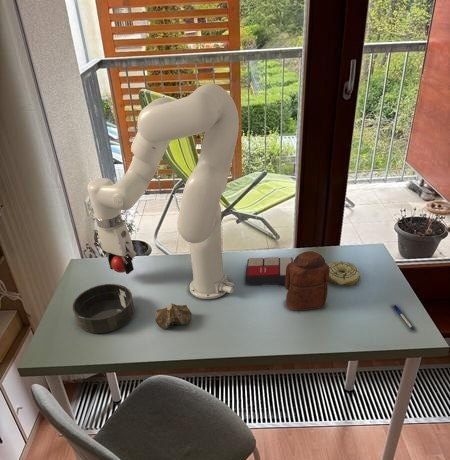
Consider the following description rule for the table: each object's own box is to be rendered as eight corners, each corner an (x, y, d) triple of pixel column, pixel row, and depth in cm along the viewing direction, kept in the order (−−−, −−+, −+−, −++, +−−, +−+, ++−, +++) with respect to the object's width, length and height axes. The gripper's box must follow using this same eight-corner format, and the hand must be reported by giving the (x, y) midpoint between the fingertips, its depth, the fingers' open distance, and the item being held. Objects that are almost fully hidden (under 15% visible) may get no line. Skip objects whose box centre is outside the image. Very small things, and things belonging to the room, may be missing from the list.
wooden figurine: (320, 295, 132) (325, 245, 122) (327, 308, 127) (333, 257, 117) (282, 300, 131) (284, 249, 121) (287, 313, 126) (290, 261, 116)
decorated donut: (342, 292, 133) (343, 282, 131) (317, 276, 141) (318, 266, 138) (365, 279, 138) (367, 269, 136) (340, 265, 145) (341, 255, 143)
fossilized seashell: (193, 305, 128) (161, 309, 130) (186, 297, 122) (152, 301, 124) (193, 330, 125) (160, 333, 127) (185, 323, 119) (151, 327, 121)
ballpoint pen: (392, 307, 126) (393, 304, 126) (395, 306, 126) (395, 303, 126) (411, 330, 118) (412, 327, 117) (414, 330, 118) (415, 327, 117)
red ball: (135, 268, 143) (131, 253, 139) (123, 278, 139) (119, 262, 135) (122, 264, 145) (118, 249, 142) (109, 273, 141) (105, 258, 138)
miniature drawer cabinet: (247, 256, 146) (292, 255, 144) (248, 267, 148) (292, 266, 146) (245, 275, 137) (293, 273, 135) (246, 286, 139) (293, 285, 137)
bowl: (146, 307, 132) (143, 293, 129) (107, 341, 120) (103, 327, 117) (105, 292, 140) (102, 278, 136) (65, 323, 128) (60, 308, 125)
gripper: (139, 219, 130) (149, 269, 140) (97, 210, 138) (110, 258, 148) (122, 230, 125) (134, 282, 135) (80, 220, 133) (95, 269, 143)
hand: (122, 269), depth 141 cm, fingers closed on red ball, 6 cm apart
